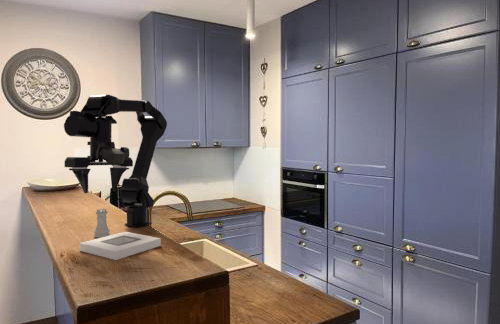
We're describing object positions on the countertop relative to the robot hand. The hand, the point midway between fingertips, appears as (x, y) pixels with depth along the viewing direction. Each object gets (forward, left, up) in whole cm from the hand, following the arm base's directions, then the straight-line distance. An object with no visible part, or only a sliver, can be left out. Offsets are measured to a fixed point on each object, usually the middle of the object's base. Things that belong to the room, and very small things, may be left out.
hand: (100, 191), depth 103 cm
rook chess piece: (0, 0, -13) cm, 13 cm away
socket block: (+5, +15, -13) cm, 21 cm away
